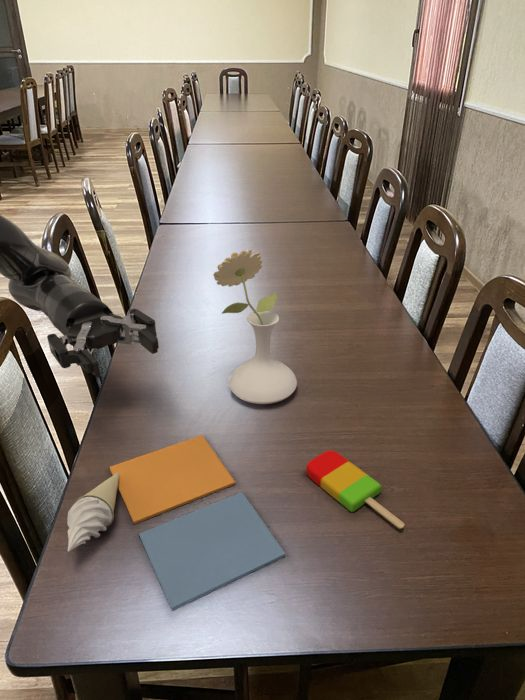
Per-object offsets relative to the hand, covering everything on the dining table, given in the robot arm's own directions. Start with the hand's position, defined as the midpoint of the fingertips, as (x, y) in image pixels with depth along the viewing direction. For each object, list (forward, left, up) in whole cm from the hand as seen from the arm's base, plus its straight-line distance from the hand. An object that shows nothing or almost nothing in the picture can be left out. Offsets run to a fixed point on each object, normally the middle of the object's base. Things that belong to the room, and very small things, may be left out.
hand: (126, 357), depth 71 cm
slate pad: (+2, -22, -15) cm, 26 cm away
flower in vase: (+22, +3, -15) cm, 26 cm away
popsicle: (+22, -24, -15) cm, 36 cm away
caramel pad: (+2, -9, -15) cm, 17 cm away
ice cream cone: (-5, -6, -14) cm, 16 cm away
